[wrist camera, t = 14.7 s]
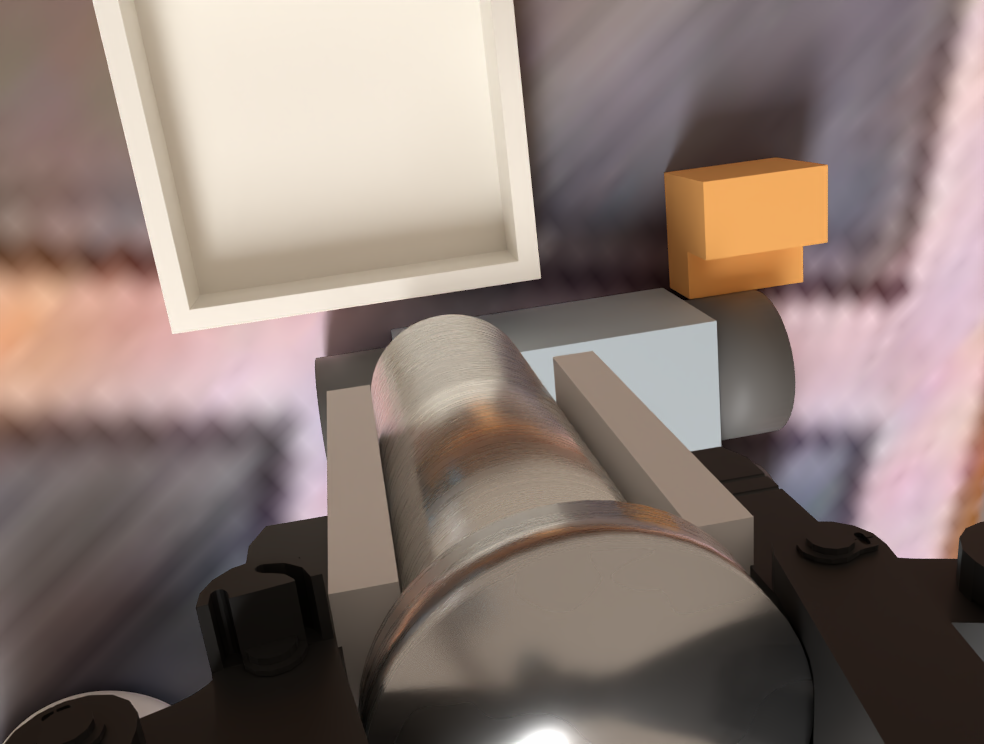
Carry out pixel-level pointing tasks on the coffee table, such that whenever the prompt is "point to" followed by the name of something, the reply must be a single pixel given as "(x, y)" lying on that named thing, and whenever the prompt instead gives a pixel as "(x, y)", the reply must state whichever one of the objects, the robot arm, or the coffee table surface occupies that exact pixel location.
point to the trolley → (647, 358)
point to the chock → (743, 224)
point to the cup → (139, 701)
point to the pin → (550, 578)
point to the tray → (322, 150)
